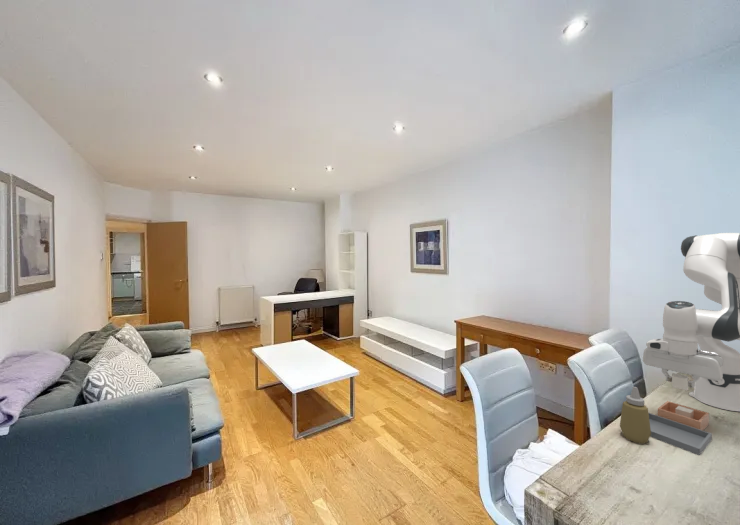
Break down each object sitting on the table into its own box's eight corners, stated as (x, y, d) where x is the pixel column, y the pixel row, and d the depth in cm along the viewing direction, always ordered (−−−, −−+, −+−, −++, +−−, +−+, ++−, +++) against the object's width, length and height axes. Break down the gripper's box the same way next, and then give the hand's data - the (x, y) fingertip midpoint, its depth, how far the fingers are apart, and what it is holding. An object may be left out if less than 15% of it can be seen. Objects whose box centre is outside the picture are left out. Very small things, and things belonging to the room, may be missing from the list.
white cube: (678, 415, 117) (678, 405, 116) (693, 420, 113) (693, 410, 113) (675, 418, 114) (675, 408, 114) (690, 423, 111) (690, 413, 111)
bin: (667, 412, 120) (667, 400, 120) (708, 425, 111) (709, 413, 111) (657, 420, 115) (657, 408, 114) (700, 435, 105) (700, 422, 105)
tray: (645, 418, 116) (645, 411, 116) (712, 441, 102) (712, 433, 101) (629, 430, 108) (629, 423, 108) (699, 457, 94) (699, 448, 94)
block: (672, 383, 113) (672, 373, 113) (688, 386, 110) (688, 376, 110) (671, 387, 110) (671, 376, 110) (687, 390, 107) (687, 379, 107)
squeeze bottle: (657, 448, 98) (657, 393, 98) (628, 445, 100) (629, 391, 99) (640, 434, 106) (641, 383, 106) (614, 431, 107) (614, 381, 107)
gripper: (725, 352, 102) (725, 392, 103) (646, 338, 120) (647, 373, 120) (721, 356, 99) (721, 397, 100) (640, 341, 116) (641, 377, 117)
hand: (680, 383), depth 110 cm, fingers closed on block, 4 cm apart
